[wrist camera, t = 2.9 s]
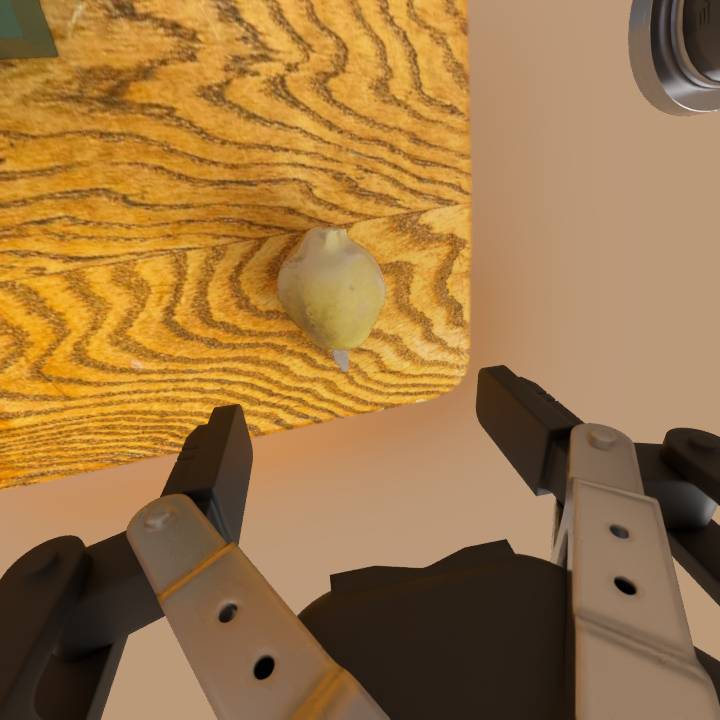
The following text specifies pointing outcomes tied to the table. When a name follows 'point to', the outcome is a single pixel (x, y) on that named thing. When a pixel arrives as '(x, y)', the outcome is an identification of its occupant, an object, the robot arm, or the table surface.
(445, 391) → the table surface
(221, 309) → the table surface
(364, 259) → the fruit
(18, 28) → the scale
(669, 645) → the robot arm
